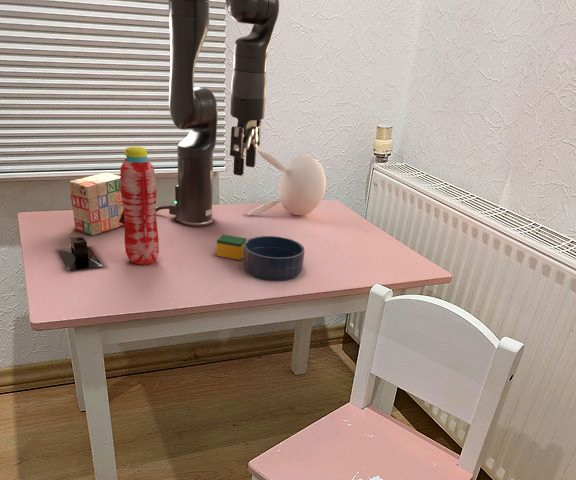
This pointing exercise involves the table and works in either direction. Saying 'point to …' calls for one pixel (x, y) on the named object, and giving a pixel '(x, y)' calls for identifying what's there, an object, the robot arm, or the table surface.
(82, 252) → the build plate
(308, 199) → the stuffed toy
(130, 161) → the water bottle
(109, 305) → the table surface
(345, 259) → the table surface
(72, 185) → the stack of blocks
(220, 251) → the sponge
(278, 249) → the bowl
